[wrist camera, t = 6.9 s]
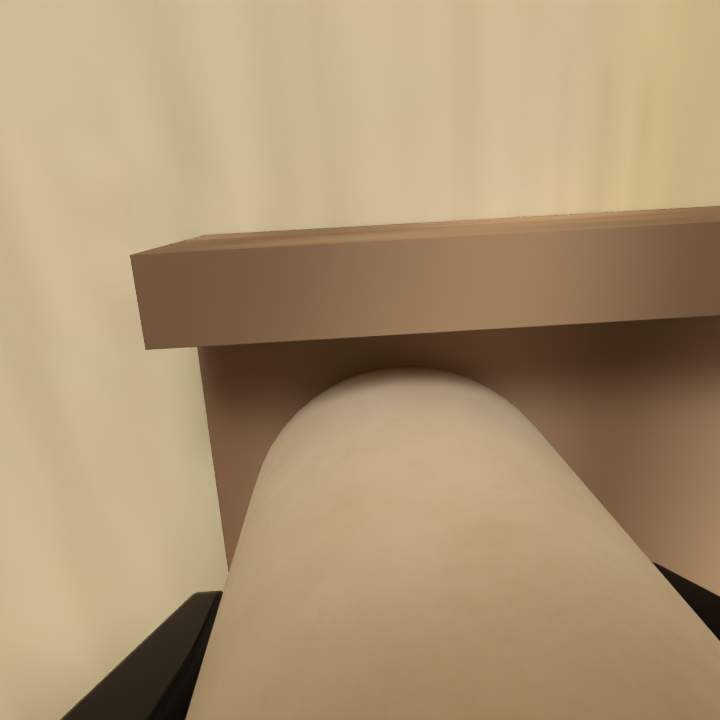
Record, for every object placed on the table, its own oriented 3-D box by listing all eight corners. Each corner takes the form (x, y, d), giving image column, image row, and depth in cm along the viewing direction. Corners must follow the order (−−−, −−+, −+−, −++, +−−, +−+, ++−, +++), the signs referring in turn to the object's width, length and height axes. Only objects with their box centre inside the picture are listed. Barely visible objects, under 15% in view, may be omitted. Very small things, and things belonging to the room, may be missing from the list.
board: (1029, 188, 11) (1390, 183, 7) (924, 581, 13) (1150, 729, 10) (203, 235, 11) (130, 255, 7) (254, 628, 13) (220, 800, 9)
